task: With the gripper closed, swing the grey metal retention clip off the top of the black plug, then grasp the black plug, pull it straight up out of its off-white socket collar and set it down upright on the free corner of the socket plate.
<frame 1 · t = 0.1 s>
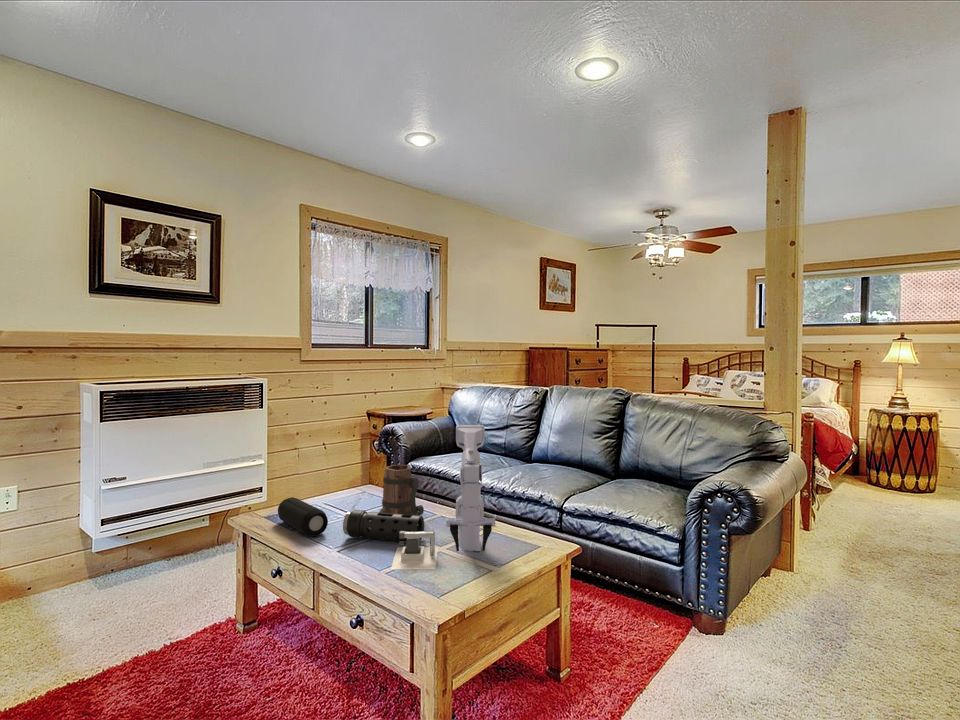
hand: (470, 549, 155), 10 cm above the table, fingers open, 7 cm apart
clip: (417, 543, 174), point 5 cm above the table, hinge at 0.0°
plug: (412, 556, 174), point 1 cm above the table, touching socket base
portable speaker: (302, 529, 201), on the table
tankard: (402, 516, 216), on the table
muzzle brake: (383, 541, 189), on the table
socket base: (412, 558, 174), on the table
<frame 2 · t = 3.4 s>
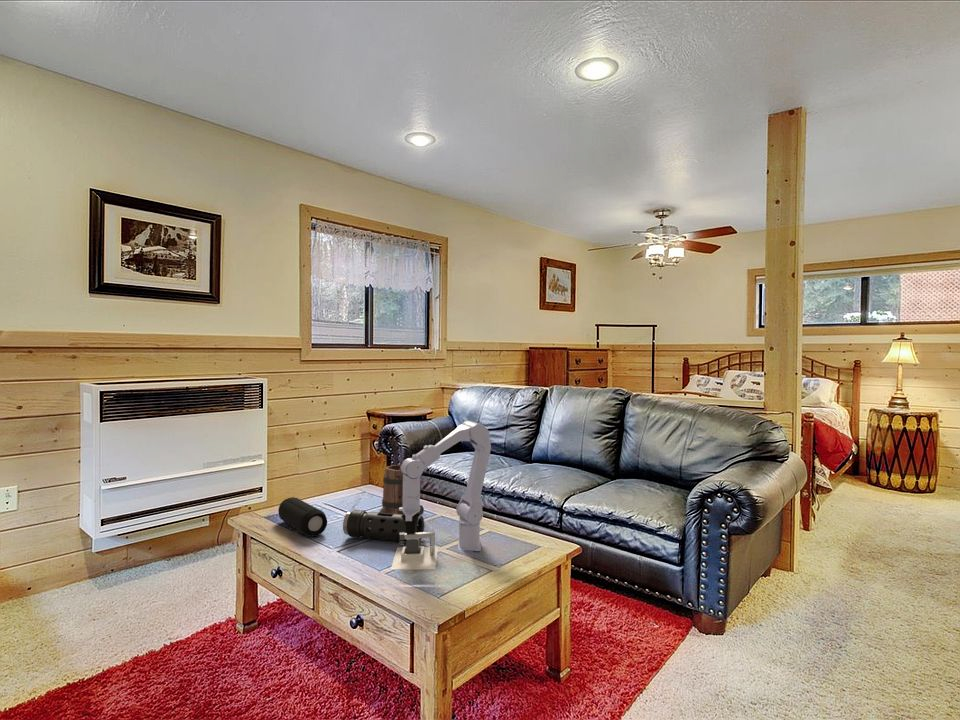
hand: (410, 535, 174), 8 cm above the table, fingers closed, pressing on clip
clip: (417, 544, 173), point 5 cm above the table, hinge at 7.8°, touching gripper
everything else where it was.
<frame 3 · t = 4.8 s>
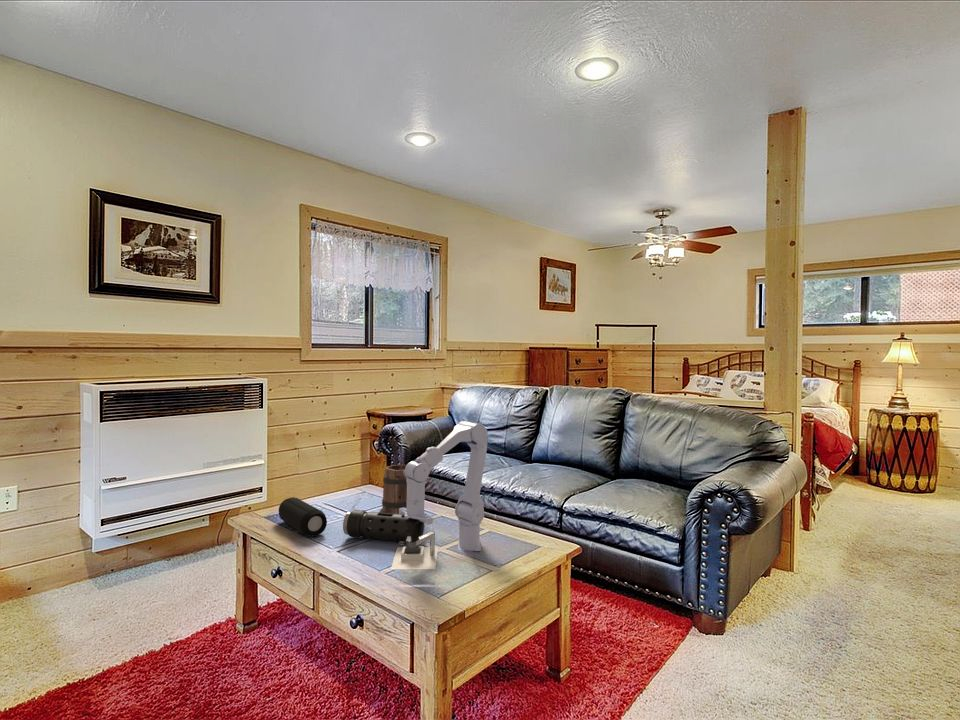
hand: (414, 541, 168), 8 cm above the table, fingers closed, pressing on clip
clip: (422, 548, 170), point 5 cm above the table, hinge at 53.4°, touching gripper
everything else where it was.
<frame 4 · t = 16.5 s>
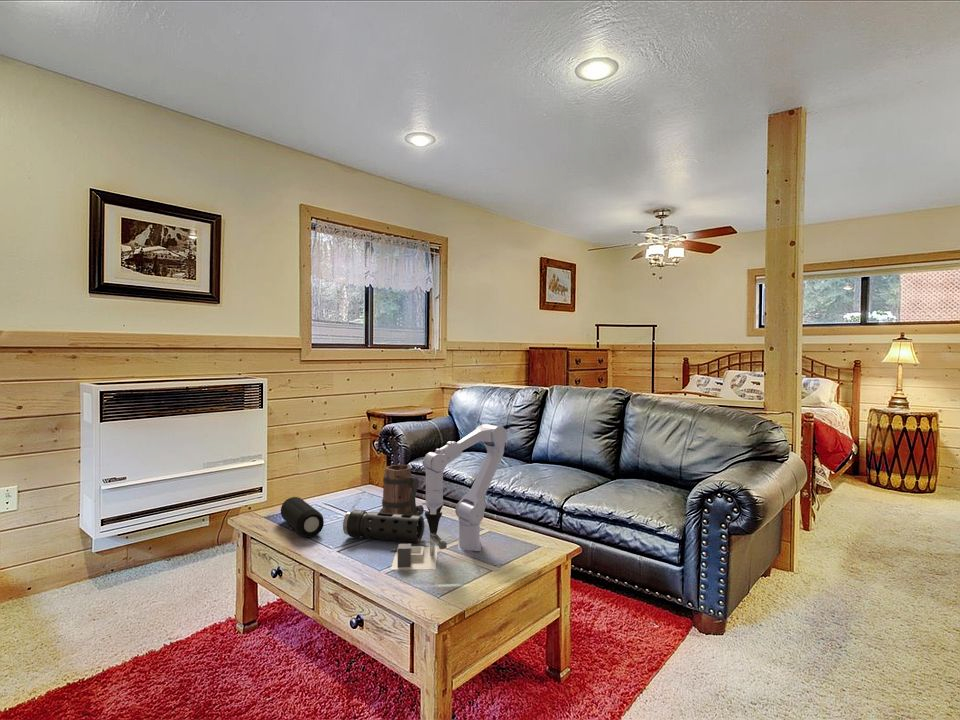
hand: (434, 529, 175), 9 cm above the table, fingers open, 7 cm apart
clip: (437, 548, 169), point 5 cm above the table, hinge at 111.9°
plug: (404, 564, 167), point 1 cm above the table, touching socket base
at the end: clip at +112° (first picture: +0°); plug 0.4 cm from the target spot on the socket base, point 0.6 cm above the socket base's base; plug tilted 0° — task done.
